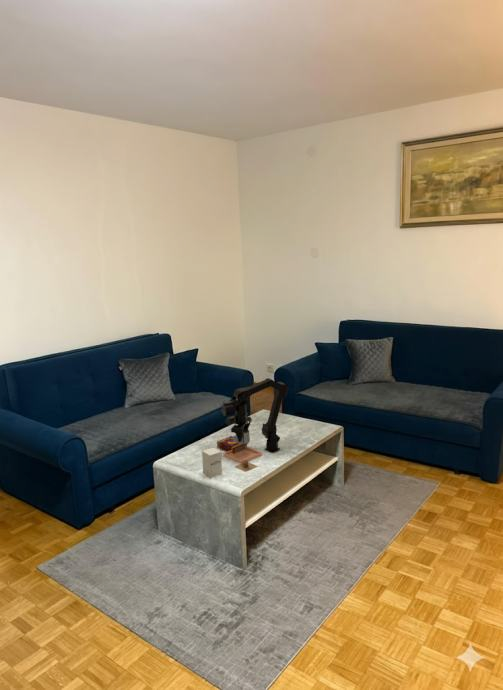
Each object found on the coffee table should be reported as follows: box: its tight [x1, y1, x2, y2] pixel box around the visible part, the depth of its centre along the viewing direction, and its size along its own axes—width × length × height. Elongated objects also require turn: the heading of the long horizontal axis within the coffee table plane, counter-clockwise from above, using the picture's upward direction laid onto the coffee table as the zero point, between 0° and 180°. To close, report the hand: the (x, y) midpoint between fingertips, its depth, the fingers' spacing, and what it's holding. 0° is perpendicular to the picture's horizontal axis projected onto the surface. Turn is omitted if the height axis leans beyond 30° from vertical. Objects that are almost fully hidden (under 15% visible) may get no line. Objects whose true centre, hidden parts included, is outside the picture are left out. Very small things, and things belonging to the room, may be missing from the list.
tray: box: [222, 445, 263, 464], centre depth 276 cm, size 15×15×2 cm
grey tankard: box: [233, 428, 251, 444], centre depth 274 cm, size 9×7×6 cm
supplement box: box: [201, 447, 223, 479], centre depth 255 cm, size 7×7×13 cm
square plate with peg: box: [234, 460, 258, 473], centre depth 262 cm, size 9×9×4 cm
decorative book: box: [216, 435, 249, 454], centre depth 288 cm, size 11×16×5 cm
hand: (242, 439), depth 274 cm, fingers closed on grey tankard, 7 cm apart
